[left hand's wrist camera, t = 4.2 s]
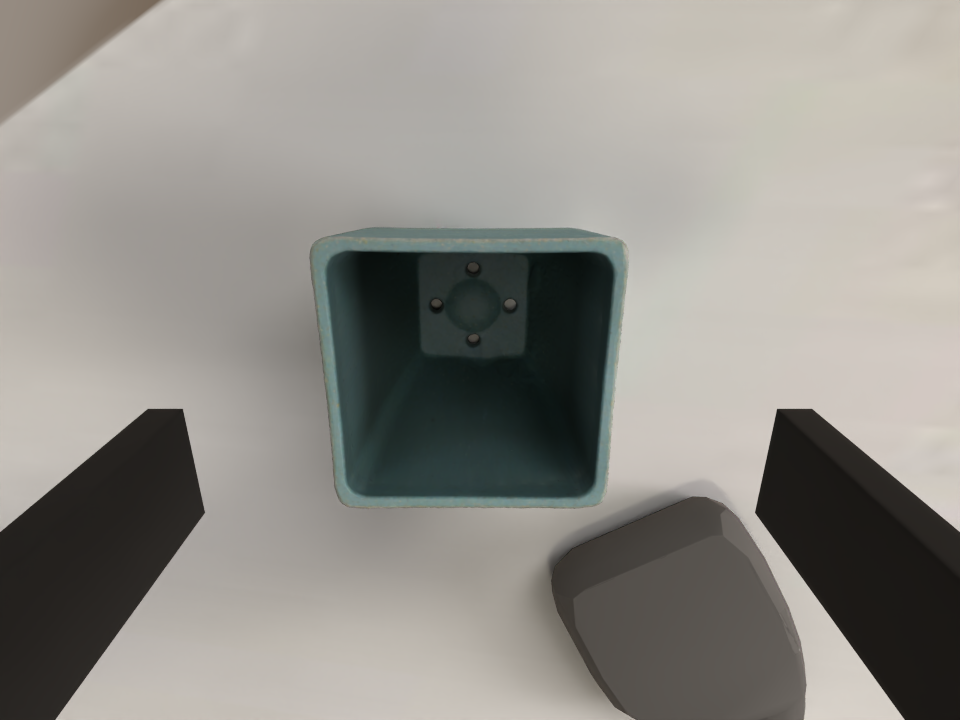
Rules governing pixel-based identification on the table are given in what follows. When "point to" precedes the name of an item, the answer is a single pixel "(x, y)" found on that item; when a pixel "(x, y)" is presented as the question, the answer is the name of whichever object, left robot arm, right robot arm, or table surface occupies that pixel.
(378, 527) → the table surface
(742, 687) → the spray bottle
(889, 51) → the table surface
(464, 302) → the teal square planter
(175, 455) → the left robot arm
